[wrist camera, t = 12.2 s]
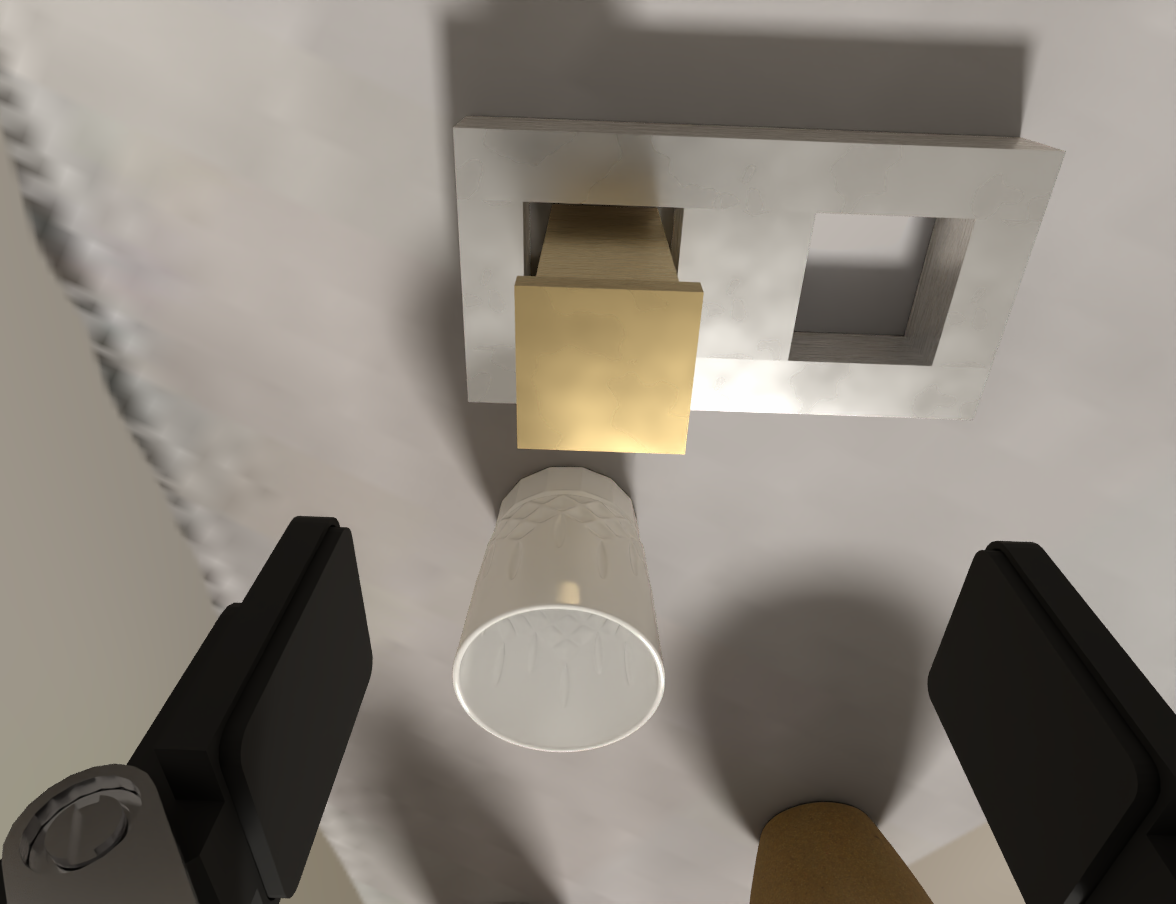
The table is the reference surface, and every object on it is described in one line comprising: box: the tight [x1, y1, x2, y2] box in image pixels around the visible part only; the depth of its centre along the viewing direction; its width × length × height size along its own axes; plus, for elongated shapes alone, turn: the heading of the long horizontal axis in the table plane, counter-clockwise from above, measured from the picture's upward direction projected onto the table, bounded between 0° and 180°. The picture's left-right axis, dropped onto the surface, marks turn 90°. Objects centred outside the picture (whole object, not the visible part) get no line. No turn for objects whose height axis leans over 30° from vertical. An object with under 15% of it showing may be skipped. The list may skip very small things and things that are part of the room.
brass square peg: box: [514, 204, 704, 454], centre depth 25 cm, size 5×5×11 cm
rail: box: [453, 116, 1066, 420], centre depth 28 cm, size 20×10×3 cm, turn 88°
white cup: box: [452, 467, 665, 752], centre depth 32 cm, size 8×8×10 cm
